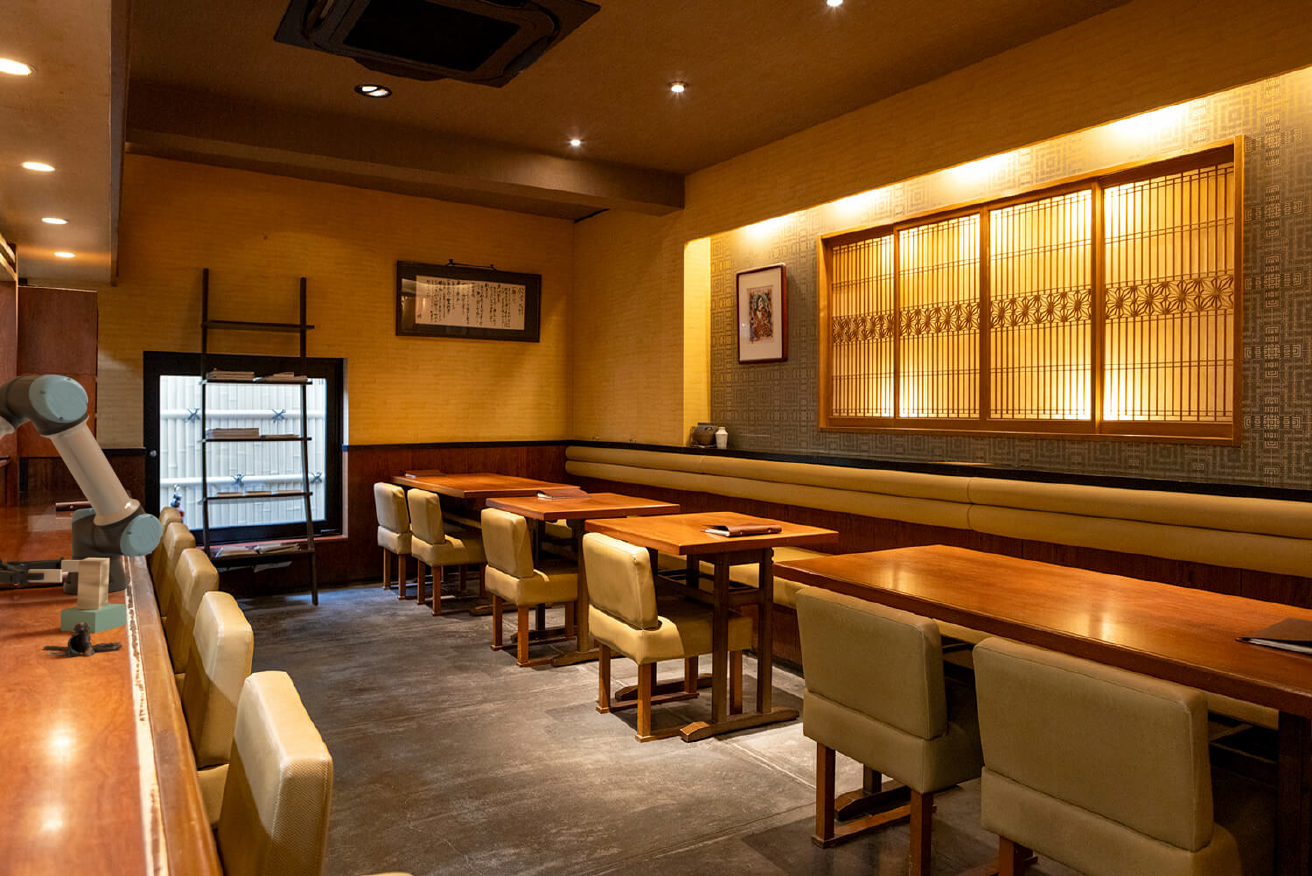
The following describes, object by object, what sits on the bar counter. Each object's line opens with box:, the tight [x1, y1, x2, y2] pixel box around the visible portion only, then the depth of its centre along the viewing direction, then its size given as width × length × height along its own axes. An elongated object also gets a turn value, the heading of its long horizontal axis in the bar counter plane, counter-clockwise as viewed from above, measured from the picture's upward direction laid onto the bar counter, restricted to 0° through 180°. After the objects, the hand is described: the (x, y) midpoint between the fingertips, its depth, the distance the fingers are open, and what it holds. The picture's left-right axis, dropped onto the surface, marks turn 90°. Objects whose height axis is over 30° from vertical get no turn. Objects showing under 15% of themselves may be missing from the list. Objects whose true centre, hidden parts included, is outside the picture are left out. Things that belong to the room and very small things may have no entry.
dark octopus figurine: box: [43, 622, 123, 658], centre depth 183 cm, size 12×10×12 cm
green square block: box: [60, 602, 127, 634], centre depth 203 cm, size 9×9×5 cm
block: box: [76, 558, 110, 609], centre depth 203 cm, size 4×4×11 cm
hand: (77, 570), depth 202 cm, fingers open, 13 cm apart
